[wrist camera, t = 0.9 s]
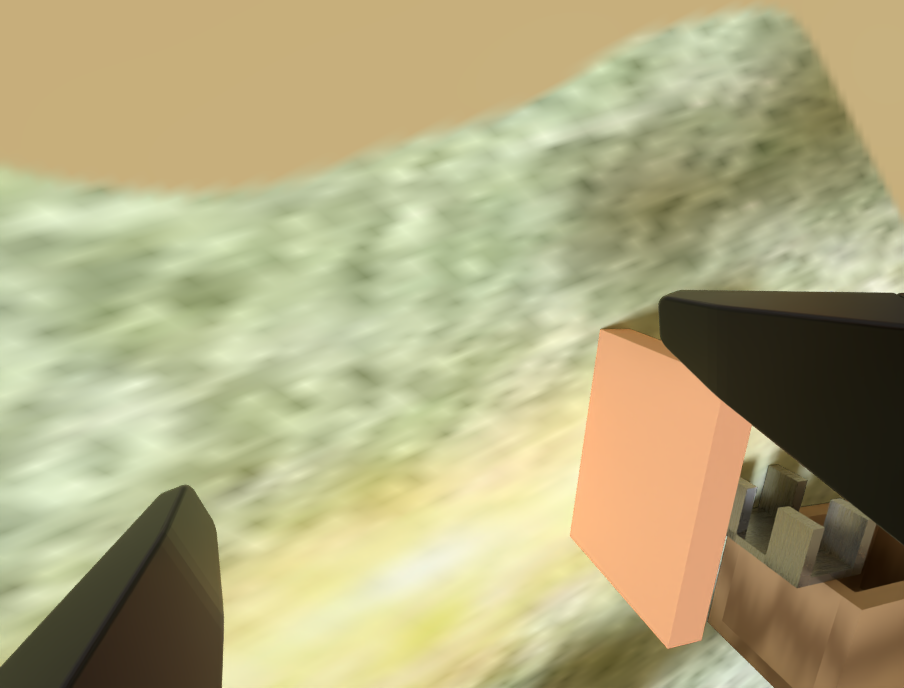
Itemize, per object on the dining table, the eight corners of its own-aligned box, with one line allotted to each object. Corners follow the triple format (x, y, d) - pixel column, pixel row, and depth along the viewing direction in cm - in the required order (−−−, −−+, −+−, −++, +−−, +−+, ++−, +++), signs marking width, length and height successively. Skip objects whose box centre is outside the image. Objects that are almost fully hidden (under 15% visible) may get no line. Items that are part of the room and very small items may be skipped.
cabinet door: (605, 529, 30) (711, 637, 23) (569, 535, 29) (667, 648, 22) (638, 328, 27) (774, 378, 20) (599, 328, 26) (725, 380, 19)
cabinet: (851, 587, 39) (982, 676, 32) (707, 621, 35) (821, 734, 28) (880, 494, 37) (1027, 566, 30) (731, 518, 33) (862, 610, 26)
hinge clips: (765, 512, 34) (860, 573, 28) (708, 522, 32) (796, 588, 27) (778, 464, 33) (878, 518, 27) (719, 471, 31) (813, 529, 26)
